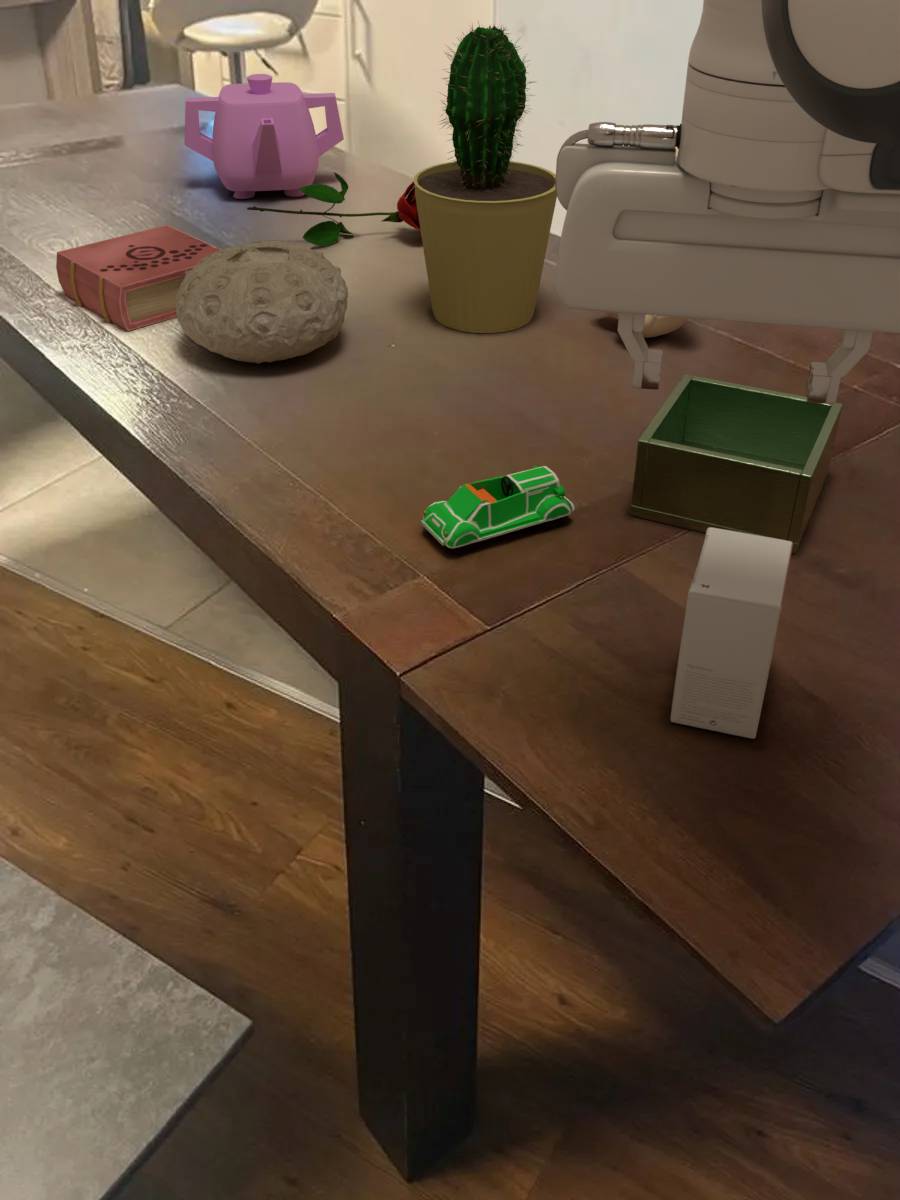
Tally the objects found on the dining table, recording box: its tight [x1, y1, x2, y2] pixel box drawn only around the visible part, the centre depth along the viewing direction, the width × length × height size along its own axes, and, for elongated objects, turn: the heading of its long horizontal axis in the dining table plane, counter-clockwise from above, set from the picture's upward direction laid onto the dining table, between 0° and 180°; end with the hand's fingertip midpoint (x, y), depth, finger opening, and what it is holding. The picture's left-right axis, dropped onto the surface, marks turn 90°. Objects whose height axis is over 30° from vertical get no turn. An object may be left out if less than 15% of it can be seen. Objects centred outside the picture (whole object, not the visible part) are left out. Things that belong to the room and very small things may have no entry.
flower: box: [246, 171, 421, 247], centre depth 150 cm, size 9×10×30 cm
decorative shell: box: [176, 240, 349, 365], centre depth 123 cm, size 18×18×10 cm
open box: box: [629, 374, 843, 554], centre depth 98 cm, size 14×14×7 cm
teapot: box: [183, 73, 345, 200], centre depth 167 cm, size 19×18×15 cm
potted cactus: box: [412, 21, 558, 334], centre depth 124 cm, size 15×15×30 cm
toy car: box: [420, 464, 576, 555], centre depth 95 cm, size 12×5×4 cm, turn 119°
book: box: [55, 224, 222, 332], centre depth 135 cm, size 14×15×5 cm
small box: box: [670, 527, 793, 740], centre depth 76 cm, size 8×6×10 cm
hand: (731, 392), depth 65 cm, fingers open, 8 cm apart
